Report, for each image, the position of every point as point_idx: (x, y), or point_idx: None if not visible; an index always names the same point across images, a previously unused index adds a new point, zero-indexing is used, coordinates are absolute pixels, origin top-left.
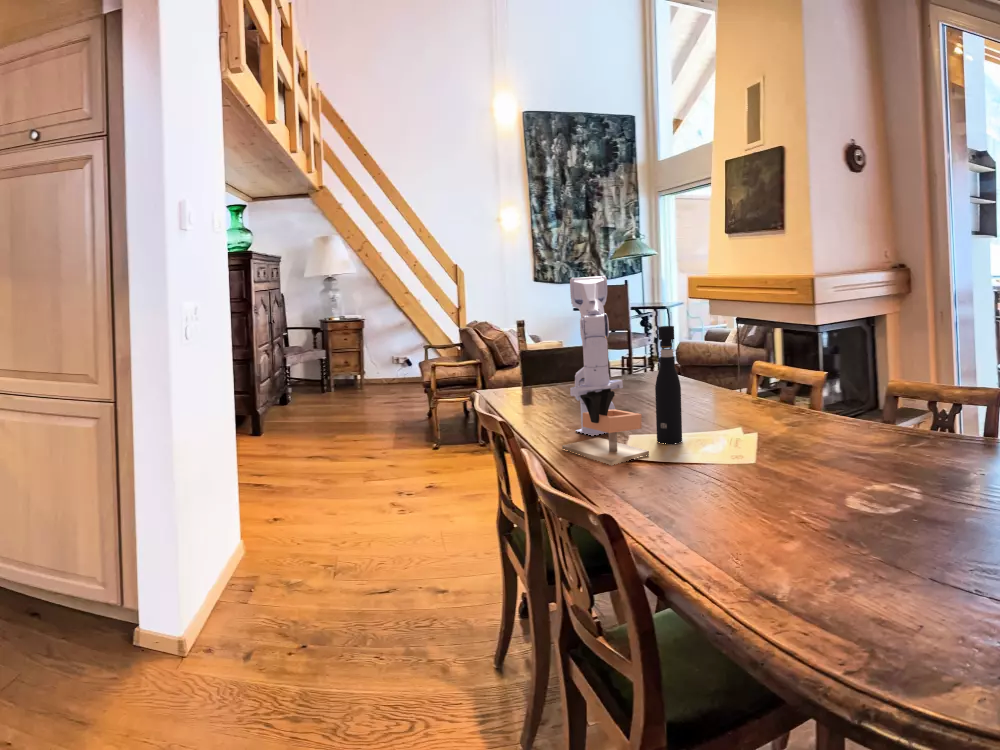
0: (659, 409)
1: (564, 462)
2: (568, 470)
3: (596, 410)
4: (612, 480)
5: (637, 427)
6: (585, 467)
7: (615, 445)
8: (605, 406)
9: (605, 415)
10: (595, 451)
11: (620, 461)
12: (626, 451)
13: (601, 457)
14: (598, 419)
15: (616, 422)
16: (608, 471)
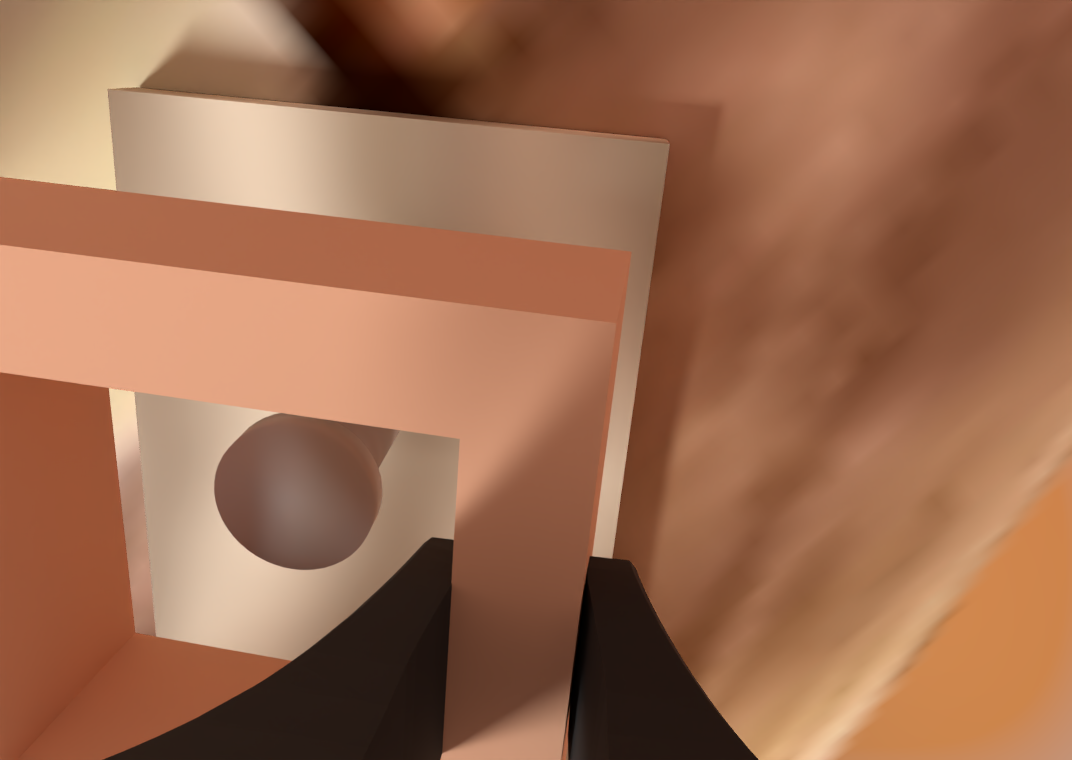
0: None
1: (852, 549)
2: (1046, 349)
3: (679, 690)
4: None
5: (49, 188)
6: (867, 295)
7: None
8: (399, 691)
9: (432, 581)
10: None
11: (532, 126)
12: None
13: (640, 305)
14: (603, 578)
15: (446, 271)
16: (843, 7)
